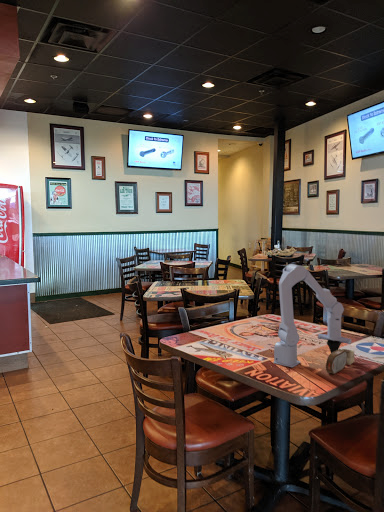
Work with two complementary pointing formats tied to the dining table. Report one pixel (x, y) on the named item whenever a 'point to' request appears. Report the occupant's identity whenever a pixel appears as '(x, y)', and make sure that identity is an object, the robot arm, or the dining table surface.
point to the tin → (336, 361)
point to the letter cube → (349, 356)
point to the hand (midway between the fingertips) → (334, 356)
